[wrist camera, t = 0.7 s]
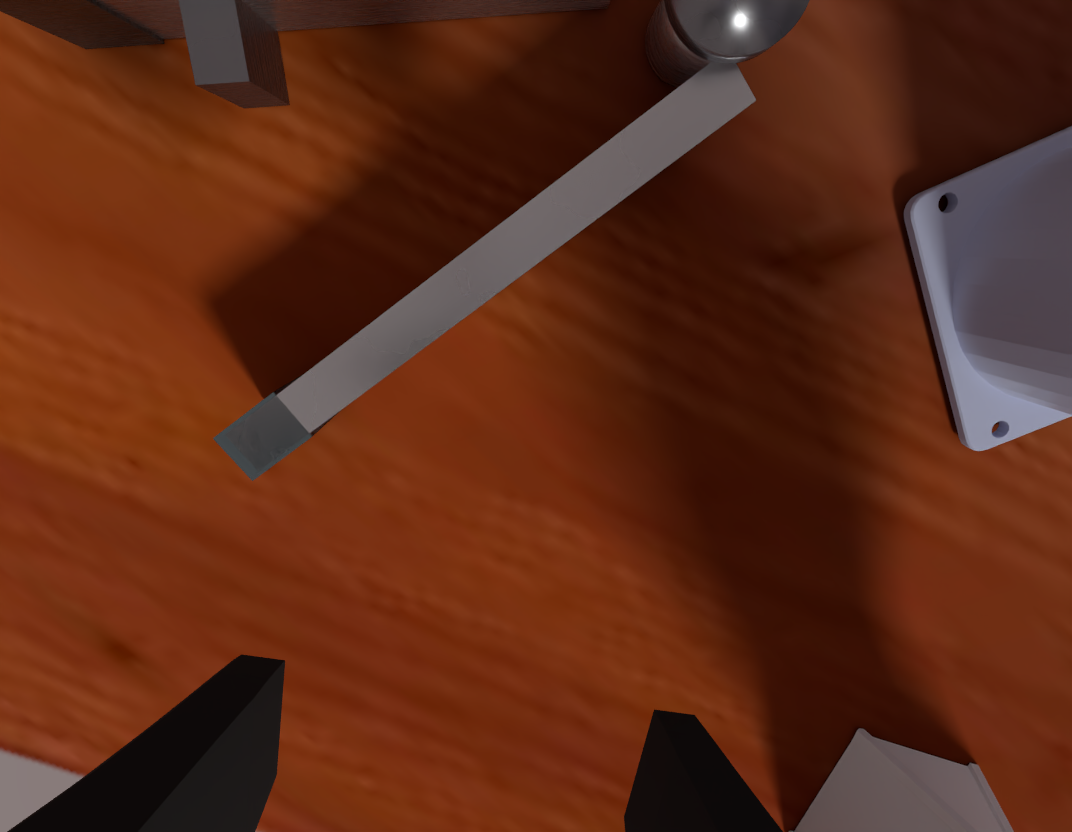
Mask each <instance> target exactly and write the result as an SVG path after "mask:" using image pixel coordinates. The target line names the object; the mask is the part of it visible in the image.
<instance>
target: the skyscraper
mask: <svg viewBox="0 0 1072 832" xmlns="http://www.w3.org/2000/svg"><path fill="white" fill-rule="evenodd" d="M789 832H1014V831H1013V829H1012V828H1011V826H1010V824H1009V822H1008V820H1007V818H1006V816H1005V814H1004V813H1003V811H1002V809H1001V807H1000V805H999V803H998V801H997V800H996V798H995V796H994V794H993V792H992V790H991V788H990V786H989V785H988V783H987V781H986V779H985V777H984V775H983V773H982V772H981V770H980V768H979V766H978V765H976V764H973V763H969V765H968V766H965V765H962V764H959V763H955V762H952V761H949V760H946V759H943V758H939V757H936V756H933V755H930V754H926V753H923V752H920V751H917V750H914V749H910V748H907V747H904V746H901V745H897V744H894V743H891V742H888V741H884V740H881V739H878V738H875V737H872V736H871V735H870V734H869V733H868V732H867V731H866V730H864V729H862V728H859V729H858V730H857V732H856V734H855V736H854V738H853V739H852V741H851V743H850V744H849V746H848V747H847V749H846V750H845V752H844V754H843V755H842V757H841V758H840V760H839V761H838V763H837V765H836V766H835V768H834V769H833V771H832V772H831V774H830V776H829V777H828V779H827V780H826V782H825V784H824V785H823V787H822V788H821V790H820V791H819V793H818V795H817V796H816V798H815V799H814V801H813V802H812V804H811V806H810V807H809V809H808V810H807V812H806V813H805V815H804V817H803V818H802V820H801V821H800V823H799V824H798V826H797V828H796V829H795V831H789Z"/></svg>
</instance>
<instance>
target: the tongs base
mask: <svg viewBox="0 0 1072 832" xmlns="http://www.w3.org/2000/svg"><path fill="white" fill-rule="evenodd" d="M808 2H809V0H664V3H665V8H666V13H667V16H668V19H669V22H670V24H671V26H672V28H673V30H674V32H675V34H676V35H677V37H678V38H679V39H680V41H681V42H682V43H683V44H684V45H685V46H686V47H687V48H688V49H689V50H690V51H691V52H693V53H694V54H696V55H697V56H699V57H701V58H703V59H705V60H708V61H711V62H715V63H722V64H733V63H740V62H743V61H747V60H750V59H752V58H754V57H757V56H758V55H760V54H762V53H763V52H765V51H766V50H768V49H769V48H770V47H771V46H773V45H774V44H775V43H776V42H778V41H779V40H780V39H781V38H783V37H784V36H785V35H786V34H787V33H788V32H789V31H790V30H791V29H792V28H793V27H794V26H795V24H796V23H797V22H798V20H799V19H800V17H801V16H802V14H803V12H804V11H805V9H806V7H807V5H808ZM609 3H610V0H0V11H1V12H3V13H6V14H8V15H10V16H12V17H15V18H17V19H19V20H21V21H24V22H26V23H28V24H30V25H33V26H35V27H37V28H39V29H42V30H44V31H46V32H48V33H51V34H53V35H55V36H58V37H60V38H62V39H64V40H67V41H69V42H71V43H73V44H76V45H78V46H80V47H82V48H85V49H93V48H108V47H122V46H137V45H151V44H164V39H172V38H186V40H187V45H188V50H189V55H190V60H191V65H192V70H193V74H194V79H195V84H196V85H197V86H199V87H201V88H203V89H205V90H207V91H209V92H211V93H213V94H215V95H217V96H219V97H222V98H224V99H226V100H228V101H230V102H232V103H234V104H236V105H238V106H240V107H242V108H255V107H269V106H283V105H290V104H289V98H288V92H287V86H286V80H285V74H284V68H283V62H282V56H281V49H280V43H279V37H278V31H287V30H301V29H316V28H330V27H345V26H359V25H373V24H388V23H402V22H416V21H431V20H445V19H460V18H474V17H488V16H503V15H517V14H531V13H546V12H560V11H575V10H589V9H603V8H608V6H609Z"/></svg>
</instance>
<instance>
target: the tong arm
mask: <svg viewBox="0 0 1072 832" xmlns="http://www.w3.org/2000/svg"><path fill="white" fill-rule="evenodd" d="M645 48H646V54H647V58H648V61H649V64H650V65H651V67H652V69H653V71H654V72H655V74H656V75H657V76H658V77H659V78H660V79H661V80H663V81H664V82H666V83H667V84H669V85H671V86H674V87H678V88H677V89H675V90H674V91H673V92H672V93H670V94H669V95H668V96H666V97H665V98H664V99H662V100H661V101H660V102H658V103H657V104H656V105H655V106H653V107H652V108H651V109H649V110H648V111H647V112H645V113H644V114H643V115H642V116H640V117H639V118H638V119H636V120H635V121H634V122H632V123H631V124H630V125H628V126H627V127H626V128H625V129H623V130H622V131H621V132H619V133H618V134H617V135H615V136H614V137H613V138H611V139H610V140H609V141H608V142H606V143H605V144H604V145H602V146H601V147H600V148H598V149H597V150H596V151H595V152H593V153H592V154H591V155H589V156H588V157H587V158H585V159H584V160H583V161H581V162H580V163H579V164H578V165H576V166H575V167H574V168H572V169H571V170H570V171H568V172H567V173H566V174H564V175H563V176H562V177H561V178H559V179H558V180H557V181H555V182H554V183H553V184H551V185H550V186H549V187H548V188H546V189H545V190H544V191H542V192H541V193H540V194H538V195H537V196H536V197H534V198H533V199H532V200H531V201H529V202H528V203H527V204H525V205H524V206H523V207H521V208H520V209H519V210H518V211H516V212H515V213H514V214H512V215H511V216H510V217H508V218H507V219H506V220H504V221H503V222H502V223H501V224H499V225H498V226H497V227H495V228H494V229H493V230H491V231H490V232H489V233H487V234H486V235H485V236H484V237H482V238H481V239H480V240H478V241H477V242H476V243H474V244H473V245H472V246H471V247H469V248H468V249H467V250H465V251H464V252H463V253H461V254H460V255H459V256H457V257H456V258H455V259H454V260H452V261H451V262H450V263H448V264H447V265H446V266H444V267H443V268H442V269H440V270H439V271H438V272H437V273H435V274H434V275H433V276H431V277H430V278H429V279H427V280H426V281H425V282H424V283H422V284H421V285H420V286H418V287H417V288H416V289H414V290H413V291H412V292H410V293H409V294H408V295H407V296H405V297H404V298H403V299H401V300H400V301H399V302H397V303H396V304H395V305H393V306H392V307H391V308H390V309H388V310H387V311H386V312H384V313H383V314H382V315H380V316H379V317H378V318H377V319H375V320H374V321H373V322H371V323H370V324H369V325H367V326H366V327H365V328H363V329H362V330H361V331H360V332H358V333H357V334H356V335H354V336H353V337H352V338H350V339H349V340H348V341H347V342H345V343H344V344H343V345H341V346H340V347H339V348H337V349H336V350H335V351H333V352H332V353H331V354H330V355H328V356H327V357H326V358H324V359H323V360H322V361H320V362H319V363H318V364H316V365H315V366H314V367H313V368H311V369H310V370H309V371H307V372H306V373H305V374H303V375H301V376H300V377H298V378H296V379H295V380H293V381H291V382H289V383H288V384H286V385H284V386H283V387H281V388H279V389H278V390H276V391H274V392H273V393H272V394H270V395H269V396H268V397H266V398H265V399H264V400H262V401H261V402H260V403H259V404H257V405H256V406H255V407H253V408H252V409H251V410H249V411H248V412H247V413H246V414H244V415H243V416H242V417H240V418H239V419H238V420H236V421H235V422H234V423H233V424H231V425H230V426H229V427H227V428H226V429H225V430H223V431H222V432H221V433H219V434H218V435H217V436H216V437H214V438H213V439H214V440H215V441H216V442H217V443H218V444H219V445H220V446H221V448H222V449H223V450H224V451H225V452H226V453H227V454H228V455H229V456H230V457H231V458H232V459H233V460H234V461H235V463H236V464H237V465H238V466H239V467H240V468H241V469H242V470H243V471H244V472H245V473H246V474H247V475H248V477H249V478H250V479H251V480H252V481H253V480H254V479H256V478H257V477H258V476H260V475H261V474H262V473H264V472H265V471H266V470H268V469H269V468H270V467H272V466H273V465H274V464H276V463H277V462H279V461H280V460H281V459H283V458H284V457H285V456H287V455H288V454H289V453H291V452H292V451H293V450H295V449H296V448H297V447H299V446H300V445H301V444H303V443H304V442H305V441H307V440H308V439H309V438H311V437H312V436H313V435H314V434H315V433H317V432H318V431H319V430H320V429H321V428H322V427H323V426H324V425H325V424H326V423H327V422H329V421H330V420H331V419H332V418H333V417H334V416H335V415H336V414H337V413H338V412H339V411H340V410H342V409H343V408H344V407H346V406H347V405H348V404H350V403H351V402H352V401H354V400H355V399H356V398H358V397H359V396H360V395H362V394H363V393H364V392H366V391H367V390H368V389H370V388H371V387H372V386H374V385H375V384H376V383H378V382H379V381H380V380H382V379H383V378H384V377H386V376H387V375H388V374H390V373H391V372H392V371H394V370H395V369H396V368H398V367H399V366H401V365H402V364H403V363H405V362H406V361H407V360H409V359H410V358H411V357H413V356H414V355H415V354H417V353H418V352H419V351H421V350H422V349H423V348H425V347H426V346H427V345H429V344H430V343H431V342H433V341H434V340H435V339H437V338H438V337H439V336H441V335H442V334H443V333H445V332H446V331H447V330H449V329H450V328H451V327H453V326H454V325H456V324H457V323H458V322H460V321H461V320H462V319H464V318H465V317H466V316H468V315H469V314H470V313H472V312H473V311H474V310H476V309H477V308H478V307H480V306H481V305H482V304H484V303H485V302H486V301H488V300H489V299H490V298H492V297H493V296H494V295H496V294H497V293H498V292H500V291H501V290H502V289H504V288H505V287H507V286H508V285H509V284H511V283H512V282H513V281H515V280H516V279H517V278H519V277H520V276H521V275H523V274H524V273H525V272H527V271H528V270H529V269H531V268H532V267H533V266H535V265H536V264H537V263H539V262H540V261H541V260H543V259H544V258H545V257H547V256H548V255H549V254H551V253H552V252H553V251H555V250H556V249H557V248H559V247H560V246H562V245H563V244H564V243H566V242H567V241H568V240H570V239H571V238H572V237H574V236H575V235H576V234H578V233H579V232H580V231H582V230H583V229H584V228H586V227H587V226H588V225H590V224H591V223H592V222H594V221H595V220H596V219H598V218H599V217H600V216H602V215H603V214H604V213H606V212H607V211H608V210H610V209H611V208H612V207H614V206H615V205H617V204H618V203H619V202H621V201H622V200H623V199H625V198H626V197H627V196H629V195H630V194H631V193H633V192H634V191H635V190H637V189H638V188H639V187H641V186H642V185H643V184H645V183H646V182H647V181H649V180H650V179H651V178H653V177H654V176H655V175H657V174H658V173H659V172H661V171H662V170H663V169H665V168H666V167H667V166H669V165H670V164H672V163H673V162H674V161H676V160H677V159H678V158H680V157H681V156H682V155H684V154H685V153H686V152H688V151H689V150H690V149H692V148H693V147H694V146H696V145H697V144H698V143H700V142H701V141H702V140H704V139H705V138H706V137H708V136H709V135H710V134H712V133H713V132H714V131H716V130H717V129H718V128H720V127H721V126H723V125H724V124H725V123H727V122H728V121H729V120H731V119H732V118H733V117H735V116H736V115H737V114H739V113H740V112H741V111H743V110H744V109H745V108H747V107H748V106H749V105H751V104H752V103H753V102H755V101H756V99H755V97H754V95H753V93H752V92H751V90H750V88H749V86H748V84H747V83H746V81H745V79H744V77H743V75H742V74H741V72H740V70H739V68H738V66H737V64H736V63H733V64H722V63H715V62H711V61H708V60H705V59H703V58H701V57H699V56H697V55H696V54H694V53H693V52H691V51H690V50H689V49H688V48H687V47H686V46H685V45H684V44H683V43H682V42H681V41H680V39H679V38H678V37H677V35H676V34H675V32H674V30H673V28H672V26H671V24H670V22H669V19H668V16H667V13H666V8H665V3H664V0H661V1H660V2H659V4H658V6H657V8H656V9H655V11H654V13H653V15H652V17H651V19H650V21H649V24H648V27H647V31H646V37H645Z"/></svg>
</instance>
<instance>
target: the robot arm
mask: <svg viewBox="0 0 1072 832" xmlns="http://www.w3.org/2000/svg"><path fill="white" fill-rule="evenodd" d="M943 195H946V197H947V199H948V205H947V207H946V209H945V210H944V211H943V212H941V211H940V209H939V207H938V202H939V200H940V198H941V196H943ZM904 221H905V225H906V229H907V233H908V237H909V241H910V245H911V249H912V253H913V257H914V261H915V265H916V269H917V273H918V276H919V280H920V284H921V288H922V292H923V296H924V300H925V304H926V308H927V312H928V316H929V320H930V324H931V328H932V332H933V336H934V340H935V344H936V348H937V352H938V356H939V360H940V364H941V368H942V372H943V376H944V380H945V384H946V388H947V392H948V395H949V399H950V403H951V407H952V411H953V415H954V419H955V423H956V427H957V431H958V435H959V439H960V441H961V443H962V444H963V445H965V446H966V447H968V448H970V449H972V450H976V451H982V450H987V449H989V448H992V447H994V446H997V445H999V444H1002V443H1004V442H1007V441H1010V440H1012V439H1015V438H1017V437H1020V436H1022V435H1025V434H1027V433H1030V432H1032V431H1035V430H1037V429H1040V428H1043V427H1045V426H1048V425H1050V424H1053V423H1055V422H1058V421H1060V420H1063V419H1065V418H1068V417H1071V416H1072V126H1071V127H1068V128H1066V129H1064V130H1061V131H1059V132H1057V133H1055V134H1052V135H1050V136H1048V137H1045V138H1043V139H1041V140H1039V141H1036V142H1034V143H1032V144H1030V145H1027V146H1025V147H1023V148H1020V149H1018V150H1016V151H1014V152H1011V153H1009V154H1007V155H1005V156H1002V157H1000V158H998V159H995V160H993V161H991V162H989V163H986V164H984V165H982V166H980V167H977V168H975V169H973V170H970V171H968V172H966V173H964V174H961V175H959V176H957V177H954V178H952V179H950V180H948V181H945V182H943V183H941V184H939V185H936V186H934V187H932V188H929V189H927V190H925V191H923V192H920V193H918V194H916V195H915V196H913V197H912V198H911V199H910V200H909V201H908V203H907V204H906V206H905V209H904ZM997 422H999V427H998V428H997V430H996V431H995V432H993V433H991V432H992V427H993V426H994V424H996V423H997ZM284 668H285V660H278V659H270V658H263V657H255V656H248V655H240V656H239V657H237V658H236V659H234V660H233V661H231V662H230V663H229V664H228V665H226V666H225V667H224V668H223V669H221V670H220V671H219V672H218V673H216V674H215V675H214V676H213V677H211V678H210V679H209V680H208V681H206V682H205V683H204V684H203V685H201V686H200V687H199V688H198V689H197V690H195V691H194V692H193V693H192V694H190V695H189V696H188V697H187V698H185V699H184V700H183V701H182V702H180V703H179V704H178V705H177V706H175V707H174V708H173V709H172V710H170V711H169V712H168V713H167V714H165V715H164V716H163V717H162V718H160V719H159V720H158V721H156V722H155V723H154V724H153V725H151V726H150V727H149V728H148V729H146V730H145V731H144V732H142V733H141V734H140V735H138V736H137V737H136V738H135V739H133V740H132V741H131V742H129V743H128V744H127V745H125V746H124V747H123V748H121V749H120V750H119V751H118V752H116V753H115V754H114V755H112V756H111V757H110V758H108V759H107V760H106V761H104V762H103V763H102V764H100V765H99V766H98V767H97V768H95V769H94V770H93V771H91V772H90V773H89V774H87V775H86V776H85V777H83V778H82V779H81V780H79V781H78V782H76V783H75V784H74V785H72V786H71V787H70V788H68V789H67V790H65V791H64V792H63V793H61V794H60V795H58V796H57V797H56V798H54V799H53V800H51V801H50V802H49V803H47V804H46V805H44V806H43V807H41V808H40V809H39V810H37V811H36V812H34V813H33V814H32V815H30V816H29V817H28V818H26V819H25V820H23V821H22V822H20V823H19V824H18V825H16V826H15V827H13V828H12V829H11V830H9V831H8V832H255V830H256V828H257V825H258V823H259V820H260V817H261V815H262V812H263V810H264V807H265V804H266V802H267V799H268V796H269V794H270V791H271V788H272V786H273V783H274V780H275V778H276V775H277V762H278V749H279V735H280V722H281V708H282V695H283V681H284ZM624 821H625V832H783V831H782V830H781V829H780V827H779V826H778V825H777V824H776V822H775V821H774V820H773V818H772V817H771V816H770V814H769V813H768V812H767V811H766V809H765V808H764V807H763V805H762V804H761V803H760V801H759V800H758V799H757V797H756V796H755V795H754V793H753V792H752V791H751V789H750V788H749V787H748V785H747V784H746V783H745V782H744V780H743V779H742V778H741V776H740V775H739V774H738V772H737V771H736V770H735V768H734V767H733V766H732V764H731V763H730V761H729V760H728V759H727V757H726V756H725V755H724V753H723V752H722V751H721V749H720V748H719V747H718V745H717V744H716V743H715V741H714V740H713V739H712V737H711V736H710V735H709V733H708V732H707V731H706V729H705V728H704V727H703V725H702V724H701V723H700V722H699V720H698V719H697V718H696V716H695V715H690V714H683V713H675V712H668V711H660V710H654V712H653V716H652V719H651V723H650V727H649V730H648V734H647V737H646V741H645V744H644V748H643V752H642V755H641V759H640V762H639V766H638V769H637V773H636V776H635V780H634V784H633V787H632V791H631V794H630V798H629V801H628V805H627V808H626V812H625V816H624Z"/></svg>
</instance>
